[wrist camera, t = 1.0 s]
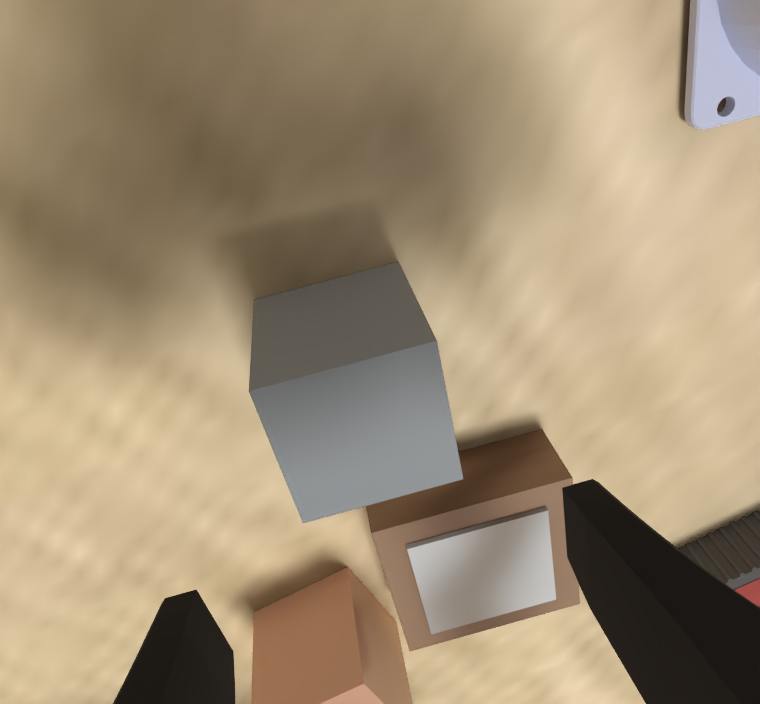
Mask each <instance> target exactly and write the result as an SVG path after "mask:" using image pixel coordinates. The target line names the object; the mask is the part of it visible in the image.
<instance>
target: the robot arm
mask: <svg viewBox="0 0 760 704" xmlns="http://www.w3.org/2000/svg"><path fill="white" fill-rule="evenodd" d="M723 98H726V104H725V107H724V109H723V110H722V111H721V112H720V113H717V107H718V104H719V103H720V101H721V100H722V99H723ZM684 115H685V121H686V122H687V124H688V125H689V126H691V127H693V128H696V129H700V130H703V129H710V128H713V127H717V126H721V125H725V124H729V123H732V122H736V121H740V120H744V119H748V118H751V117H755V116H759V115H760V0H690V17H689V36H688V55H687V74H686V92H685V111H684ZM562 493H563V506H564V520H565V533H566V547H567V558H568V560H569V562H570V565H571V567H572V569H573V571H574V574H575V576H576V578H577V580H578V583H579V585H580V587H581V589H582V591H583V594H584V596H585V598H586V600H587V602H588V604H589V607H590V609H591V610H592V612H593V614H594V616H595V617H596V619H597V621H598V623H599V624H600V626H601V628H602V629H603V631H604V633H605V635H606V636H607V638H608V640H609V641H610V643H611V645H612V647H613V648H614V650H615V652H616V653H617V655H618V657H619V659H620V660H621V662H622V664H623V665H624V667H625V669H626V670H627V672H628V674H629V676H630V677H631V679H632V681H633V682H634V684H635V686H636V687H637V689H638V691H639V693H640V694H641V696H642V698H643V699H644V701H645V703H646V704H760V607H759V606H757V605H756V604H754V603H753V602H751V601H750V600H748V599H747V598H745V597H744V596H742V595H741V594H739V593H738V592H736V591H735V590H734V589H732V588H731V587H729V586H728V585H726V584H725V583H724V582H722V581H721V580H719V579H718V578H716V577H715V576H714V575H712V574H711V573H710V572H708V571H707V570H705V569H704V568H703V567H701V566H700V565H699V564H697V563H696V562H695V561H693V560H692V559H691V558H689V557H688V556H687V555H686V554H684V553H683V552H682V551H680V550H679V549H678V548H676V547H675V546H674V545H672V544H671V543H670V542H669V541H667V540H666V539H665V538H664V537H662V536H661V535H660V534H658V533H657V532H656V531H655V530H653V529H652V528H651V527H650V526H649V525H647V524H646V523H645V522H644V521H643V520H641V519H640V518H639V517H638V516H637V515H635V514H634V513H633V512H632V511H631V510H629V509H628V508H627V507H626V506H625V505H624V504H622V503H621V502H620V501H619V500H618V499H617V498H615V497H614V496H613V495H612V494H611V493H610V492H609V491H608V490H606V489H605V488H604V487H603V486H602V485H601V484H600V483H599V482H597V481H595V480H593V479H591V480H588V481H584V482H581V483H577V484H574V485H570V486H566V487H563V488H562ZM113 704H235V678H234V657H233V650H232V649H231V647H230V645H229V644H228V642H227V640H226V638H225V637H224V635H223V633H222V632H221V630H220V628H219V627H218V625H217V623H216V622H215V620H214V618H213V617H212V615H211V613H210V612H209V610H208V608H207V607H206V605H205V603H204V602H203V600H202V598H201V597H200V595H199V593H198V592H197V590H193V591H190V592H186V593H183V594H179V595H175V596H172V597H168V598H165V599H164V601H163V602H162V604H161V606H160V608H159V610H158V612H157V614H156V617H155V619H154V621H153V623H152V625H151V627H150V629H149V631H148V634H147V636H146V638H145V640H144V642H143V644H142V646H141V648H140V650H139V652H138V655H137V657H136V659H135V661H134V663H133V665H132V667H131V669H130V671H129V673H128V675H127V677H126V679H125V681H124V683H123V685H122V687H121V689H120V691H119V693H118V695H117V697H116V699H115V701H114V703H113Z"/></svg>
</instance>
